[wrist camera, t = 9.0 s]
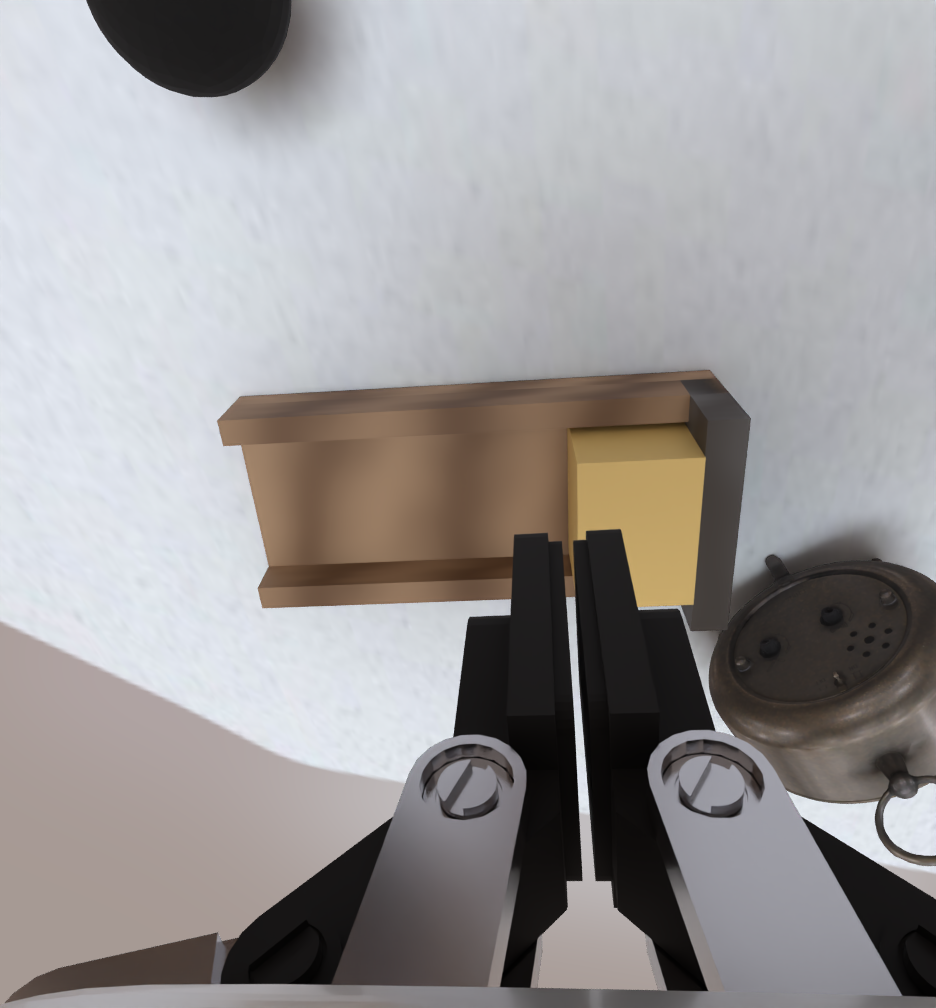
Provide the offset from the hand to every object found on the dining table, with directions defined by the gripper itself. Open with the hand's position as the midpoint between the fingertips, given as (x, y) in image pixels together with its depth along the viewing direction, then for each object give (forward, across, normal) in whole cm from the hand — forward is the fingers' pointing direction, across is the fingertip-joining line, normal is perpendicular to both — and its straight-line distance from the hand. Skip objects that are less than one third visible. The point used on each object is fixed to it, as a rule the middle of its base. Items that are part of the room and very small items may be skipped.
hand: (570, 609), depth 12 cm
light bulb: (+23, +10, -11) cm, 28 cm away
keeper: (+22, -3, +9) cm, 24 cm away
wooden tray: (+23, +4, +9) cm, 25 cm away
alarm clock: (+24, -12, +16) cm, 31 cm away
